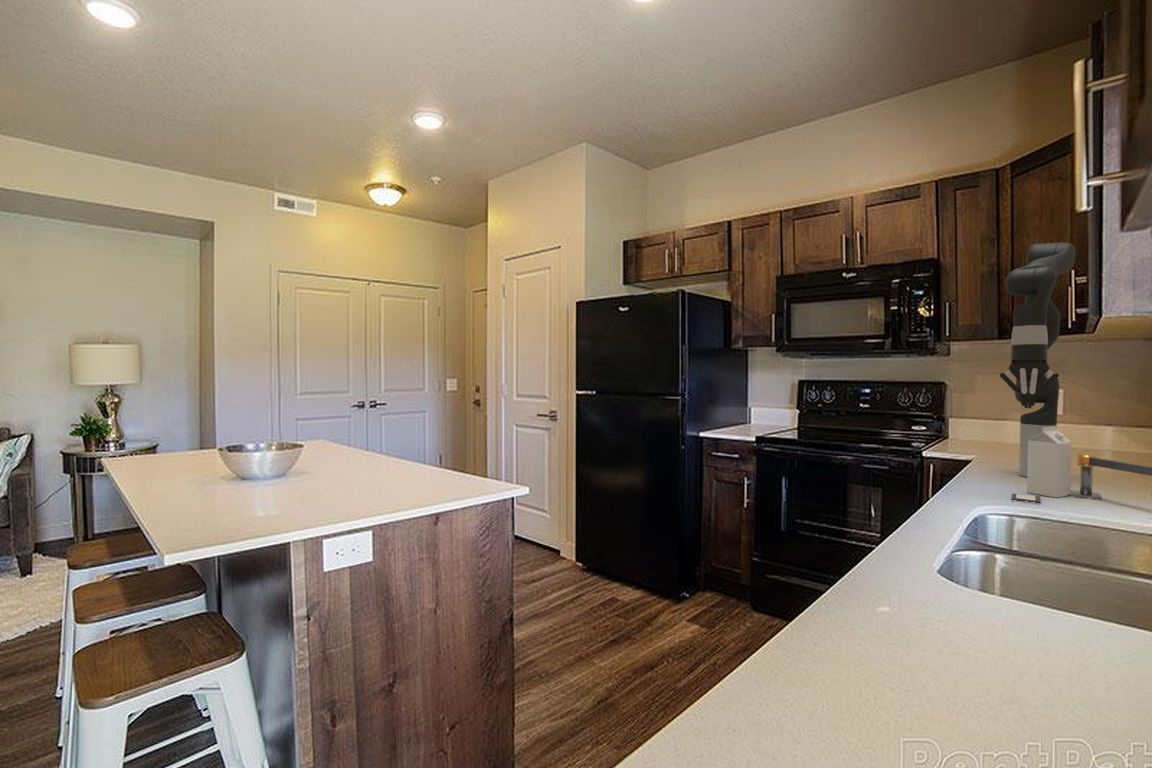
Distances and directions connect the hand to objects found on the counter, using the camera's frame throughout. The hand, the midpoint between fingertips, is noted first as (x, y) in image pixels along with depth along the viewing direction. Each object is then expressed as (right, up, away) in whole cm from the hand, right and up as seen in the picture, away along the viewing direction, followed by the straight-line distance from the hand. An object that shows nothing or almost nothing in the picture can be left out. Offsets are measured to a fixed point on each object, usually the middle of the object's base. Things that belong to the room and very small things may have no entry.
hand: (1027, 407), depth 151 cm
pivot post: (+19, -25, +4) cm, 32 cm away
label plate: (0, -25, +1) cm, 25 cm away
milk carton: (+11, -25, +7) cm, 28 cm away
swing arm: (+20, -16, -7) cm, 27 cm away
